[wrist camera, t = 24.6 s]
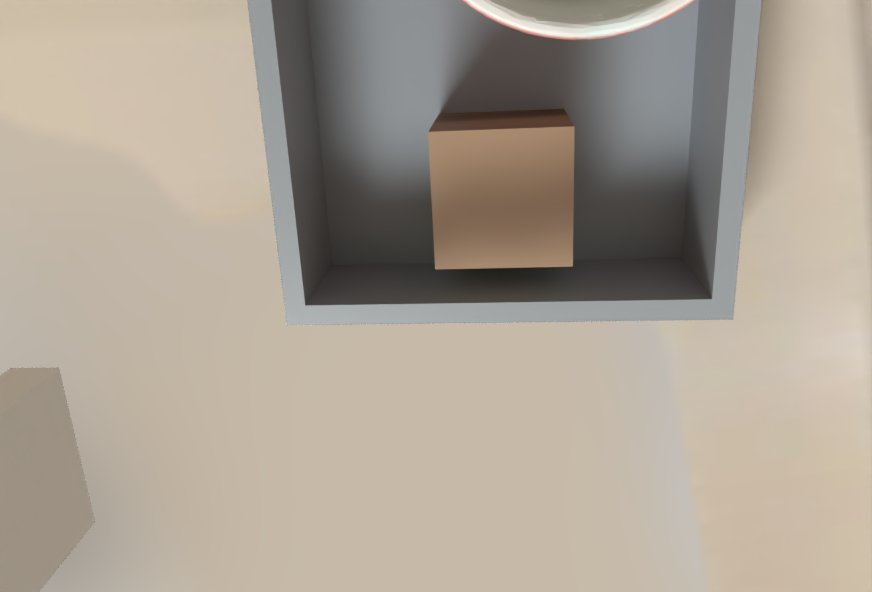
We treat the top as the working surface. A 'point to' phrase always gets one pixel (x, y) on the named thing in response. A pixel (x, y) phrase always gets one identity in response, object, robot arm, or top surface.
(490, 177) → the cube
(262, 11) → the tote
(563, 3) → the mug
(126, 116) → the top surface
